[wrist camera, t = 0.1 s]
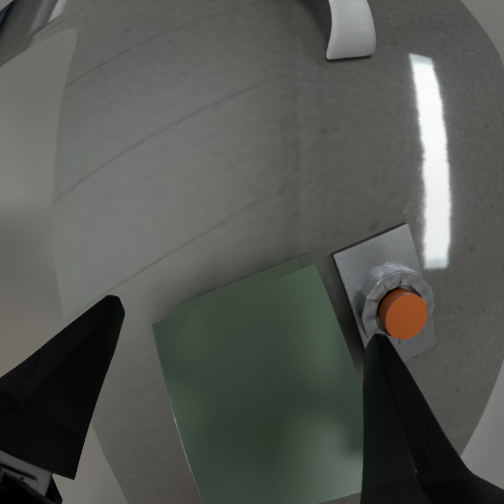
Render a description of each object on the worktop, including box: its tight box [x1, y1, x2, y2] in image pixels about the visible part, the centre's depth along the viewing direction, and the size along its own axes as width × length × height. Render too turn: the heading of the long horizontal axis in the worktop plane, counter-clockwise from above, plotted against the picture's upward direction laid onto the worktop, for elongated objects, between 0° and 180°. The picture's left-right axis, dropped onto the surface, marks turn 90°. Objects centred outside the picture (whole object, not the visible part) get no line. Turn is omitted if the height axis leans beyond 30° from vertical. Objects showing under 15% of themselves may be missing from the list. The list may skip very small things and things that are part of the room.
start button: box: [379, 289, 427, 340], centre depth 20 cm, size 4×4×2 cm
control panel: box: [331, 223, 438, 362], centre depth 22 cm, size 12×7×3 cm, turn 23°
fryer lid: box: [153, 263, 363, 504], centre depth 15 cm, size 14×12×1 cm
